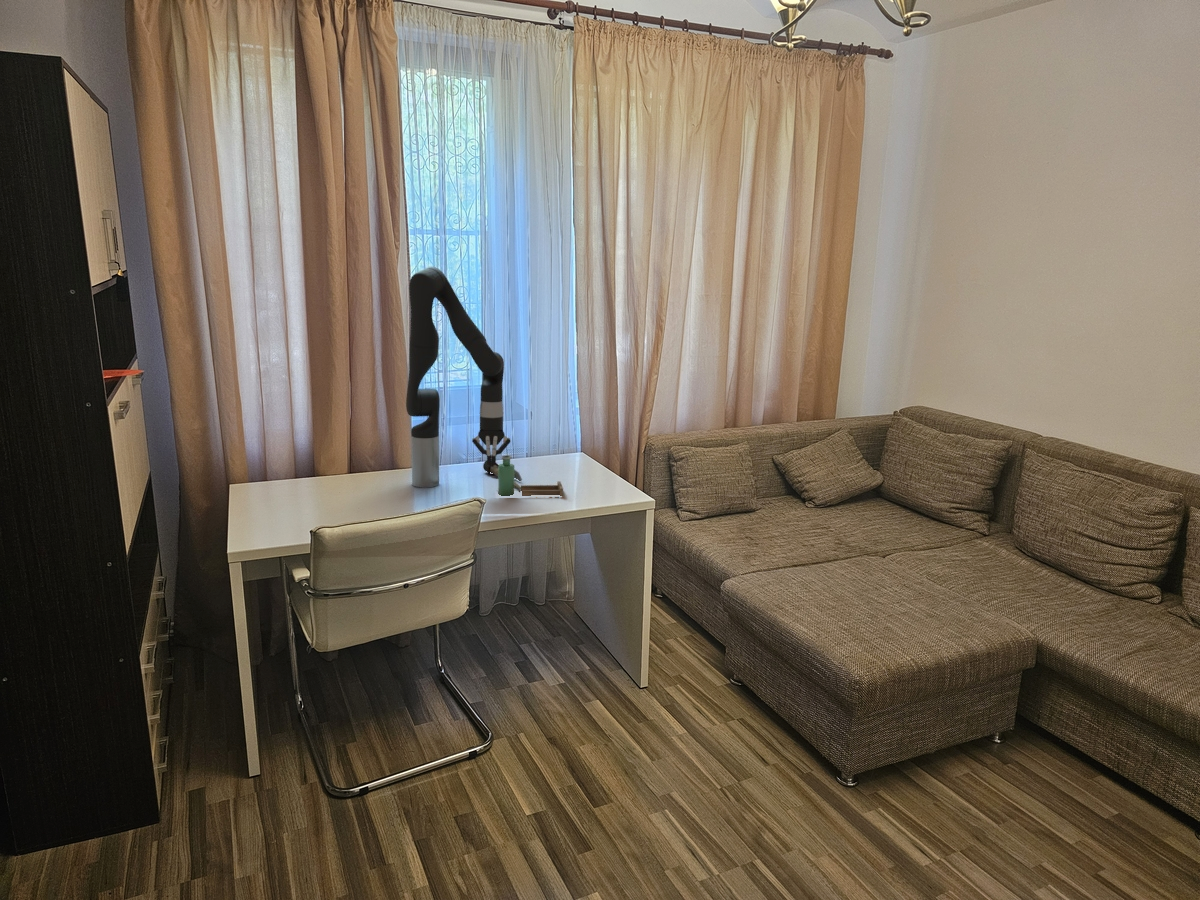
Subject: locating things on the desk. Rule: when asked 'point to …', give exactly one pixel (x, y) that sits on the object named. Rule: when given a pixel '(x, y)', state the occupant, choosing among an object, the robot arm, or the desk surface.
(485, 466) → the wall sconce
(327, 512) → the desk surface
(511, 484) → the bottle
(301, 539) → the desk surface
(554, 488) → the cradle
